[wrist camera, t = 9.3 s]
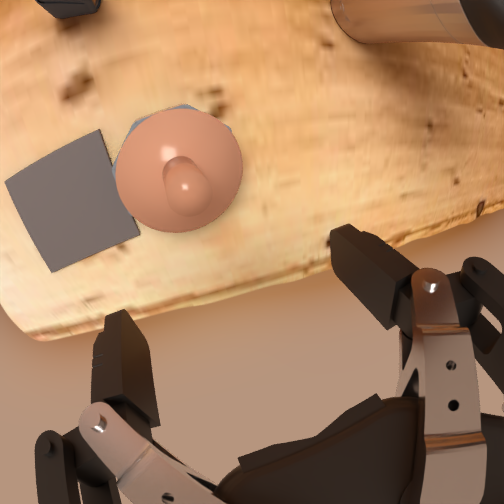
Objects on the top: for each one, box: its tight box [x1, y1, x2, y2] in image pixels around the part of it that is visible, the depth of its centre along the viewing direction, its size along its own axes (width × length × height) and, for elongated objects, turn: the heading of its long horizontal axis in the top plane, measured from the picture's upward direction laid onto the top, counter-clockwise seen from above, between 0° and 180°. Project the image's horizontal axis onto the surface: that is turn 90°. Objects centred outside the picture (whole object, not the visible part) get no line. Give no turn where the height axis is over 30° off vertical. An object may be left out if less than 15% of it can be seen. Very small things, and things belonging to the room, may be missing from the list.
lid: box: [115, 108, 243, 233], centre depth 21 cm, size 11×11×7 cm
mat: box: [5, 129, 140, 273], centre depth 25 cm, size 12×12×1 cm
